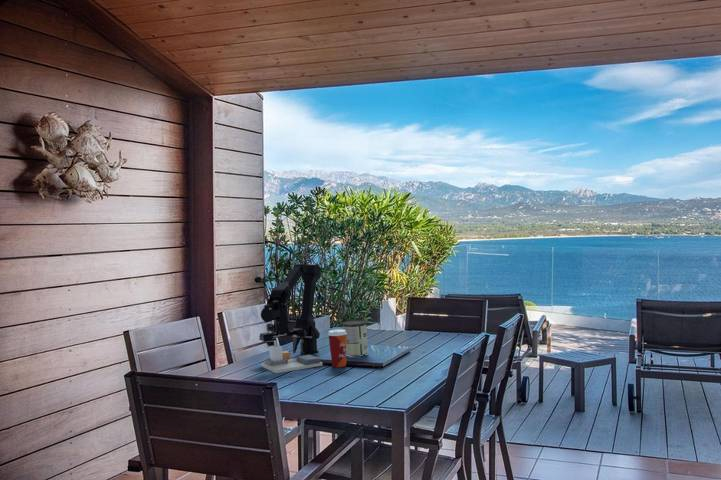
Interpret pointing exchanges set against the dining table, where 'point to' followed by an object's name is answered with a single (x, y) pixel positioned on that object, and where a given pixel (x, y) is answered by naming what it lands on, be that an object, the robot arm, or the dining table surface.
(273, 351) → the block
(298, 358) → the grey piece
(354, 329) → the coffee can
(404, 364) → the dining table surface
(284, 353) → the cable plug
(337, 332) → the paper cup
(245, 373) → the dining table surface
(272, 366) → the board
